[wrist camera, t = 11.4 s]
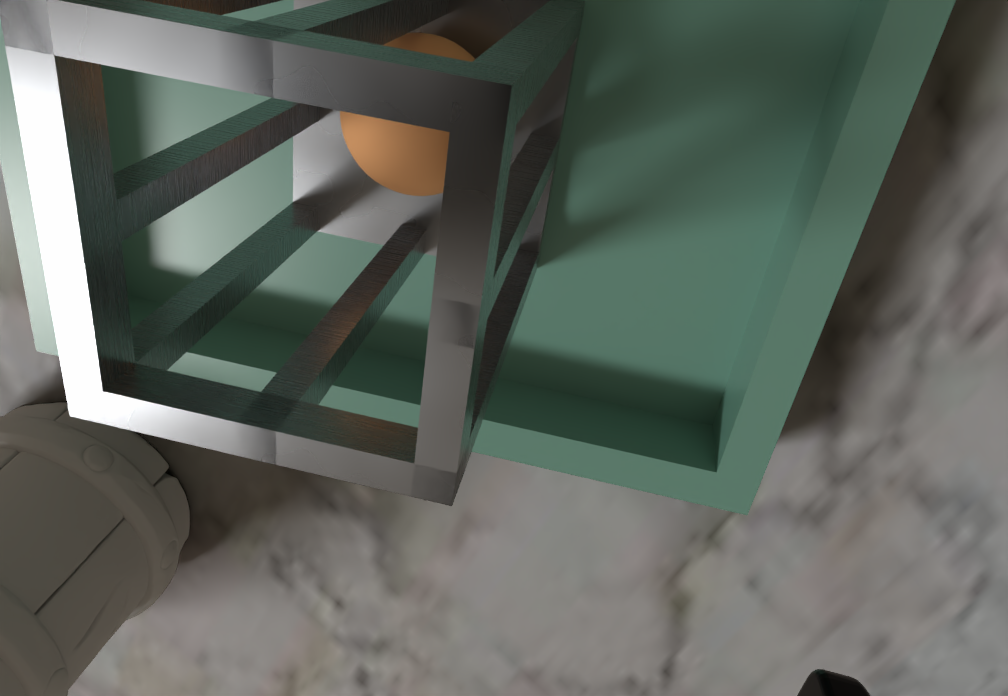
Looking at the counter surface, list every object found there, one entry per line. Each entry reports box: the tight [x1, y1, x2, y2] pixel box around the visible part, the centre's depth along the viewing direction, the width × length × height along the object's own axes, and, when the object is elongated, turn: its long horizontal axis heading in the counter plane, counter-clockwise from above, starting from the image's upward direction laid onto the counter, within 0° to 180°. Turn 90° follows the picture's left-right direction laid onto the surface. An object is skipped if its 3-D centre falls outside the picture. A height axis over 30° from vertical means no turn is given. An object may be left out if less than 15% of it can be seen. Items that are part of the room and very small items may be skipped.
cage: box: [0, 0, 585, 506], centre depth 13 cm, size 6×6×8 cm
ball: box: [340, 33, 475, 196], centre depth 15 cm, size 3×3×3 cm
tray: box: [0, 0, 956, 515], centre depth 17 cm, size 18×14×2 cm
